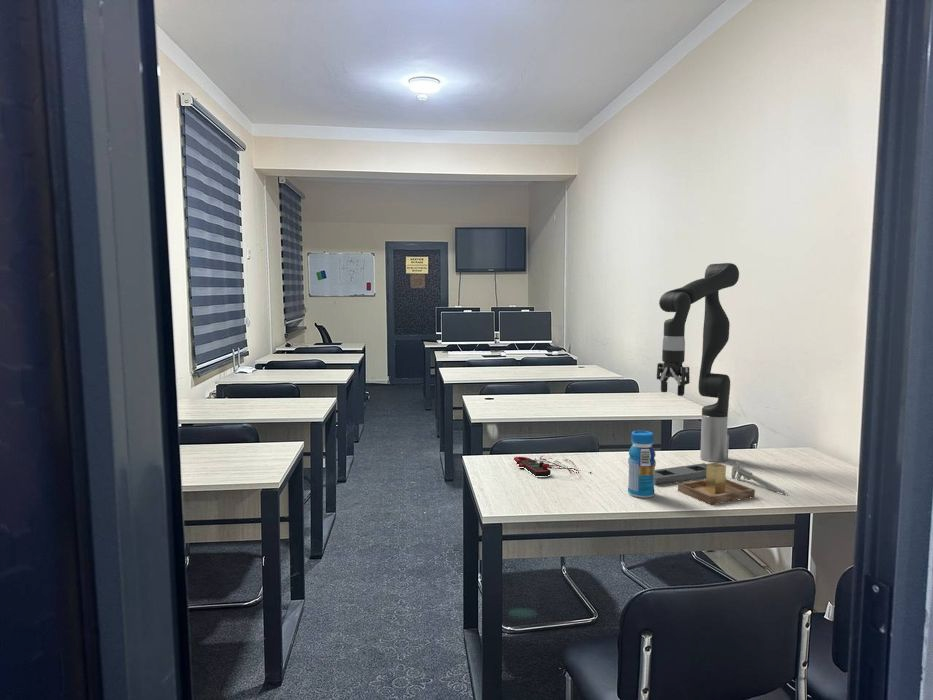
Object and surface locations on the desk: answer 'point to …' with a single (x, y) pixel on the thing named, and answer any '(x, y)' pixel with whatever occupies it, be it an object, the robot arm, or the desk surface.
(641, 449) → the beverage bottle
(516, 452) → the desk surface
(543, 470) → the digital clamp meter
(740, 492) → the tray
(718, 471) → the peg
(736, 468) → the caliper
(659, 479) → the rail
